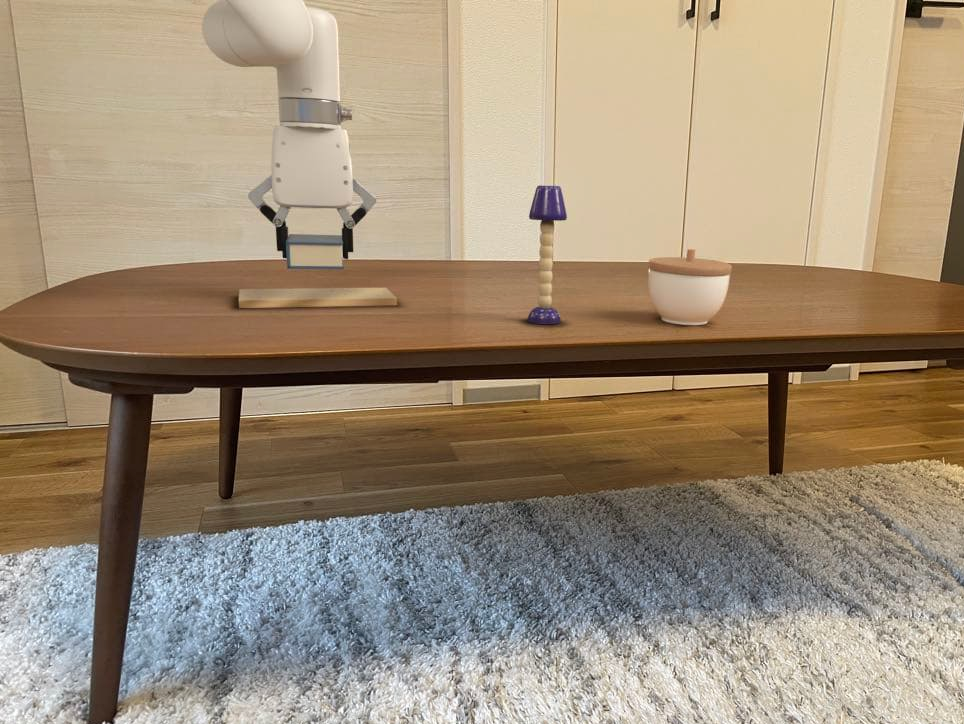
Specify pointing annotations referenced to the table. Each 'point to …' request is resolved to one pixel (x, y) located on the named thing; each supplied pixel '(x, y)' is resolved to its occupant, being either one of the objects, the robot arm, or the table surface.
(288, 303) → the birch board
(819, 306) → the table surface
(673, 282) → the trinket box
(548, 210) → the toy lamp
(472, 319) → the table surface
